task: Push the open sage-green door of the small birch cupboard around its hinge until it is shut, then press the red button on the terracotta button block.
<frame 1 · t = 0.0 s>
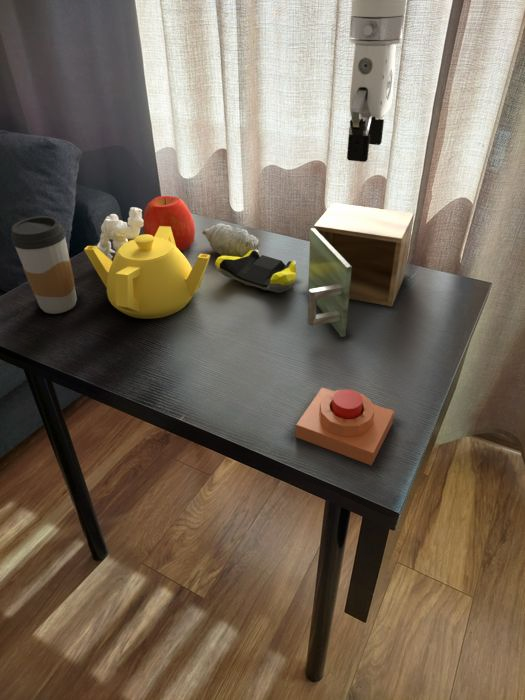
hand: (364, 151, 86), 23 cm above the table, tool pointing down, fingers open, 9 cm apart
seashell: (229, 255, 107), on the table
figurine: (126, 266, 105), on the table
button: (347, 404, 64), point 4 cm above the table, slide at 0.1 cm
teapot: (154, 300, 94), on the table
button block: (344, 430, 67), on the table
apple: (171, 246, 111), on the table
cupboard: (358, 284, 96), on the table
door: (312, 283, 84), point 6 cm above the table, hinge at 50.0°
black and yellow shoe: (260, 285, 97), on the table
coffee cup: (59, 305, 93), on the table
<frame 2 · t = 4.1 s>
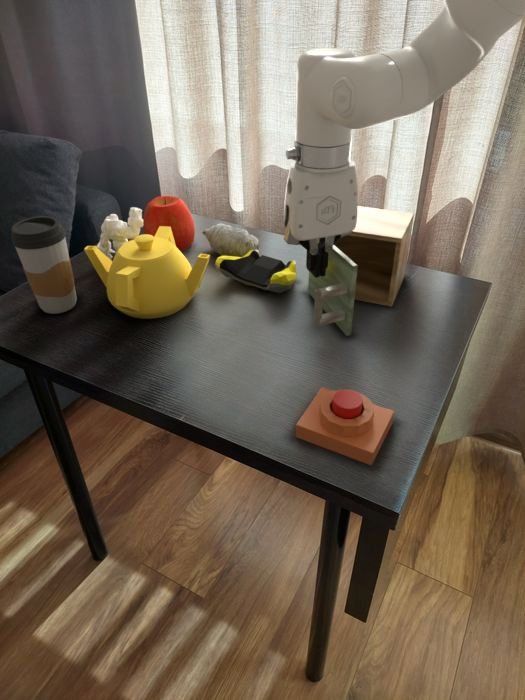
hand: (316, 272, 82), 9 cm above the table, tool pointing down, fingers closed
door: (316, 283, 84), point 6 cm above the table, hinge at 46.1°, touching gripper
everything else where it was.
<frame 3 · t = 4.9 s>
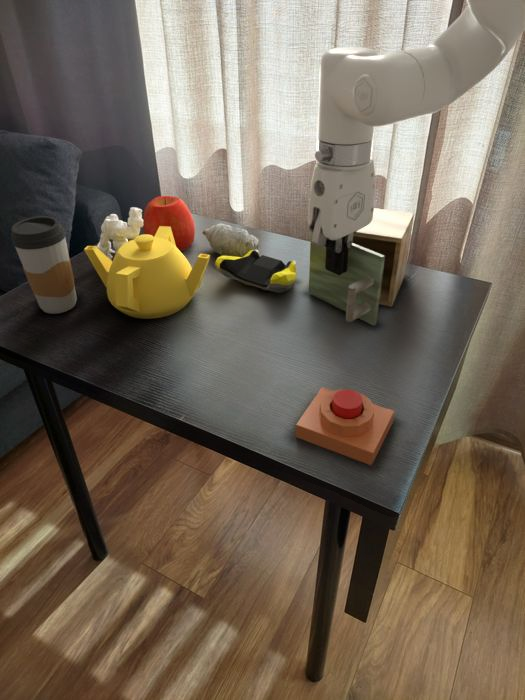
hand: (335, 270, 83), 9 cm above the table, tool pointing down, fingers closed
door: (333, 281, 85), point 6 cm above the table, hinge at 24.8°, touching gripper
everything else where it was.
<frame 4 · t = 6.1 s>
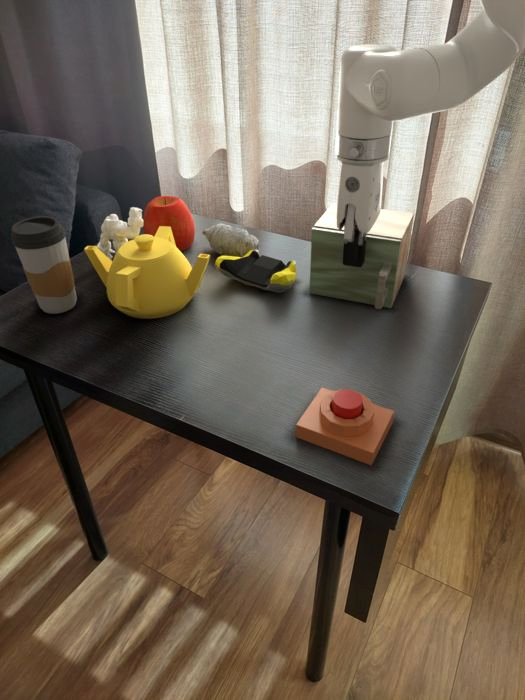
hand: (353, 264, 84), 9 cm above the table, tool pointing down, fingers closed
door: (348, 275, 86), point 6 cm above the table, hinge at -1.0°, touching cupboard, gripper
everything else where it was.
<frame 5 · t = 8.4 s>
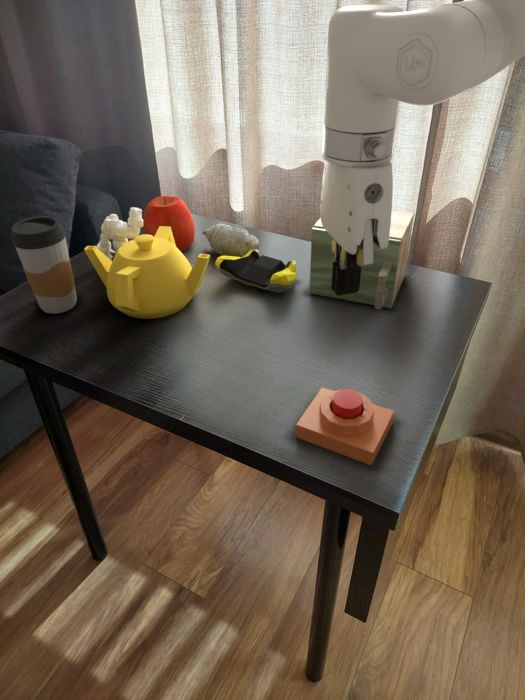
hand: (344, 290, 67), 14 cm above the table, tool pointing down, fingers closed
door: (348, 275, 86), point 6 cm above the table, hinge at -0.9°
everything else where it was.
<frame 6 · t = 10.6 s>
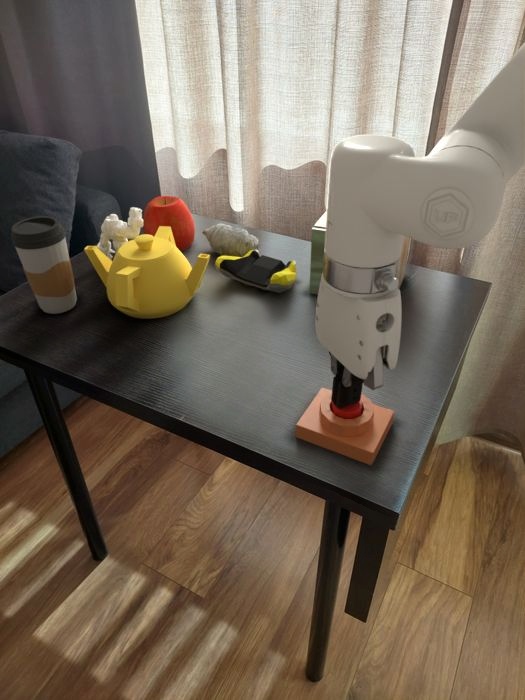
hand: (345, 401, 64), 5 cm above the table, tool pointing down, fingers closed
button: (346, 407, 64), point 4 cm above the table, slide at -0.4 cm, touching gripper
everything else where it was.
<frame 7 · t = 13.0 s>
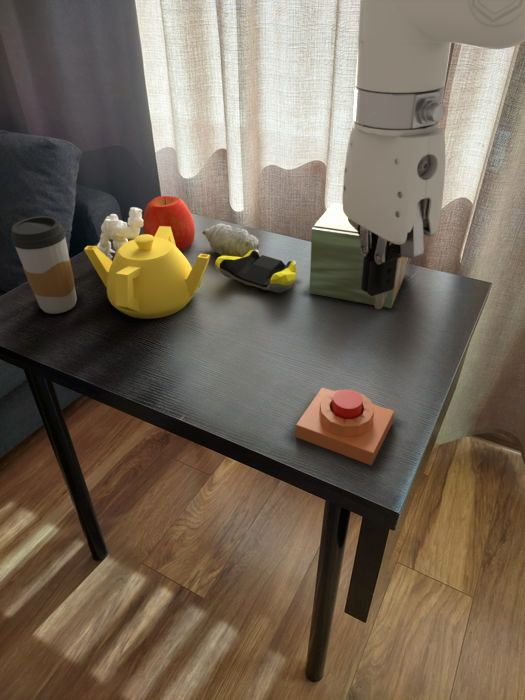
hand: (377, 289, 57), 19 cm above the table, tool pointing down, fingers closed
button: (347, 404, 64), point 4 cm above the table, slide at 0.1 cm
everything else where it was.
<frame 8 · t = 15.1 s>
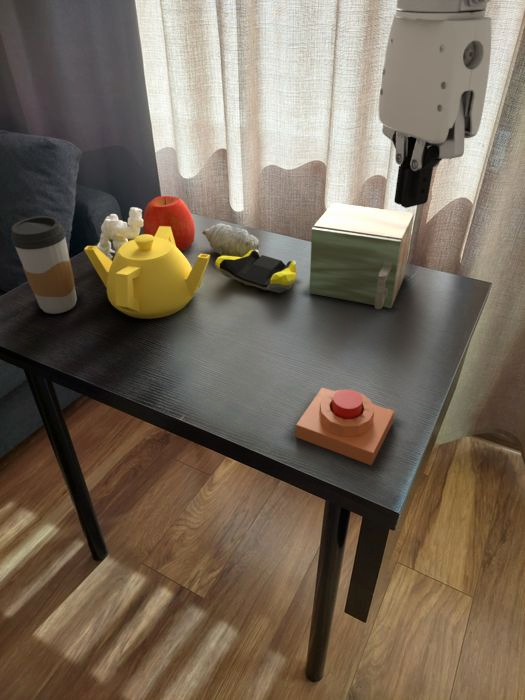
hand: (410, 202, 56), 27 cm above the table, tool pointing down, fingers closed
nothing on the table moved.
at the end: door at -1° (first picture: +50°); button pushed in 1.1 cm at the most during the clip, back to where it started at the end; button slide at 0.1 cm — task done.
